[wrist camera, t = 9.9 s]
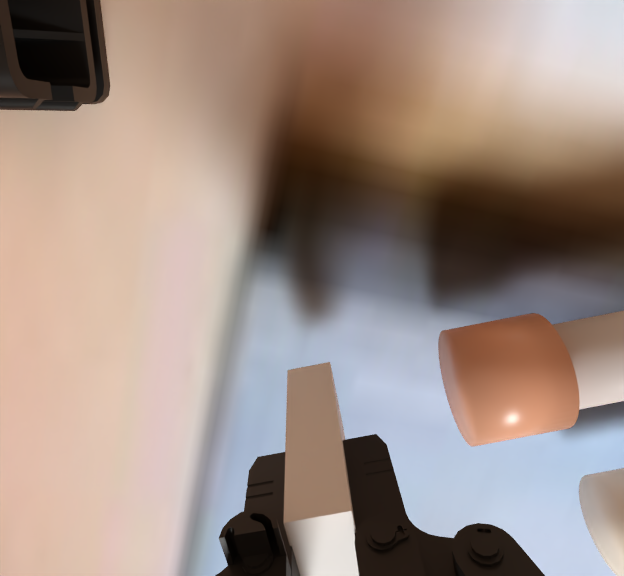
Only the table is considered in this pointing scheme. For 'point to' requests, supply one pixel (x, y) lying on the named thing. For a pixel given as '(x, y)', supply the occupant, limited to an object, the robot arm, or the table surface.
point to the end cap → (52, 55)
